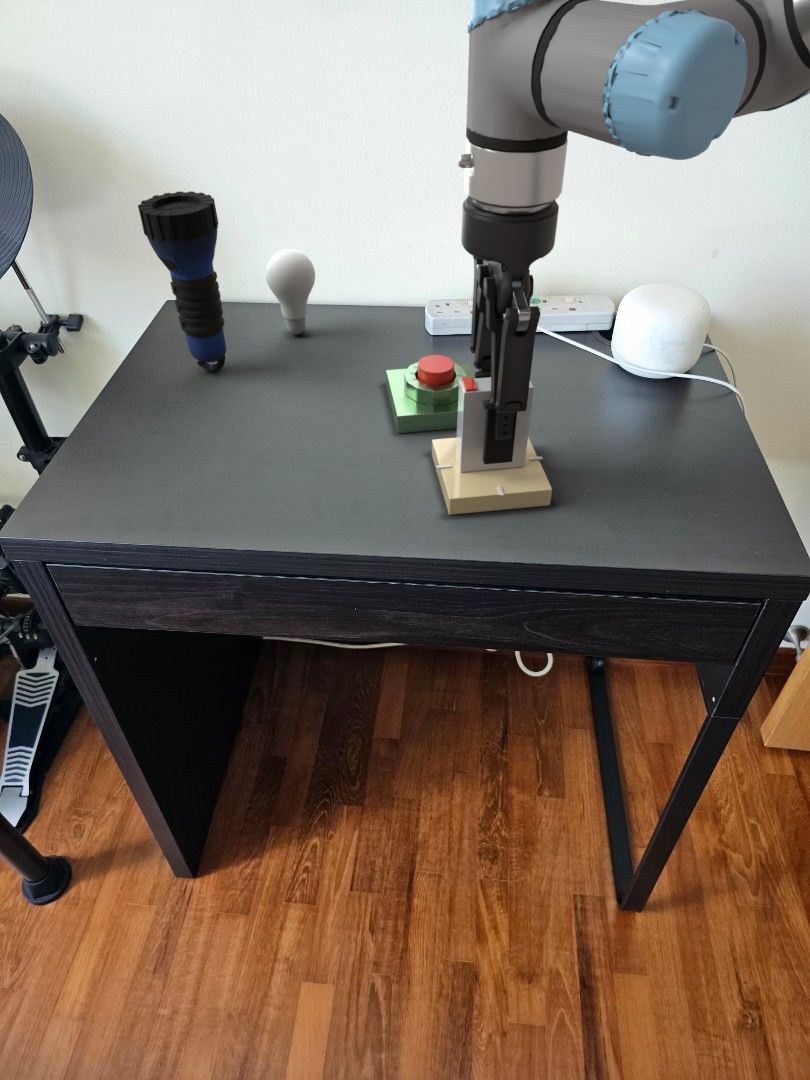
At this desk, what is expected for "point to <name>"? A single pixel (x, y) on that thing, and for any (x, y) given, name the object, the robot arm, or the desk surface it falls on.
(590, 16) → the robot arm
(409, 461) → the desk surface
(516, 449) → the tap handle
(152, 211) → the flashlight
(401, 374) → the control block
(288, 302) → the lightbulb
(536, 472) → the panel
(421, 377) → the stop button
